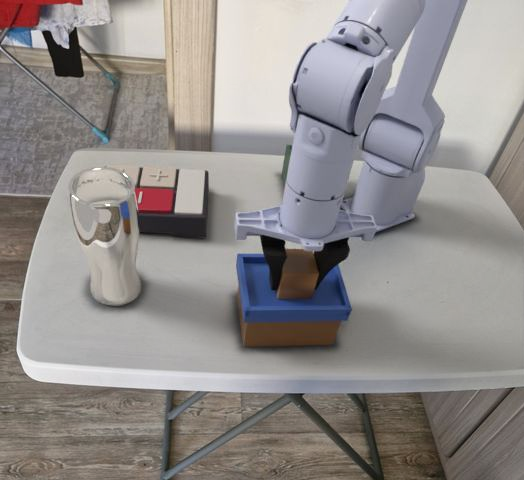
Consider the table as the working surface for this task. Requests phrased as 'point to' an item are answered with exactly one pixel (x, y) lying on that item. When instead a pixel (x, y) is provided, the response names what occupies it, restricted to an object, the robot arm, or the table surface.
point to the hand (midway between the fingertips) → (292, 284)
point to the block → (298, 275)
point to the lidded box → (287, 308)
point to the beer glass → (107, 231)
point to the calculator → (170, 199)
